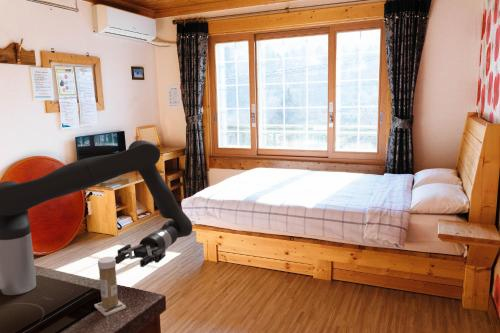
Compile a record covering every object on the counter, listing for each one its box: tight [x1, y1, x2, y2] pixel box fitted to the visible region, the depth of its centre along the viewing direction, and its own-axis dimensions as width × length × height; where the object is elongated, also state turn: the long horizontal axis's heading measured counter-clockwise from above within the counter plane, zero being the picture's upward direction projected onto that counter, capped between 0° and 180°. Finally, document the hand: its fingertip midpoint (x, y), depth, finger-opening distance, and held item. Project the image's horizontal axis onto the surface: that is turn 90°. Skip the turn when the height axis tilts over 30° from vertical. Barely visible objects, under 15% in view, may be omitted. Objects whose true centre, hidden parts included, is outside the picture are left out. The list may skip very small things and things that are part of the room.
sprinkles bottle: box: [97, 256, 119, 308], centre depth 110 cm, size 5×5×14 cm
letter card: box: [94, 299, 127, 317], centre depth 111 cm, size 7×6×1 cm
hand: (128, 262), depth 119 cm, fingers open, 8 cm apart
